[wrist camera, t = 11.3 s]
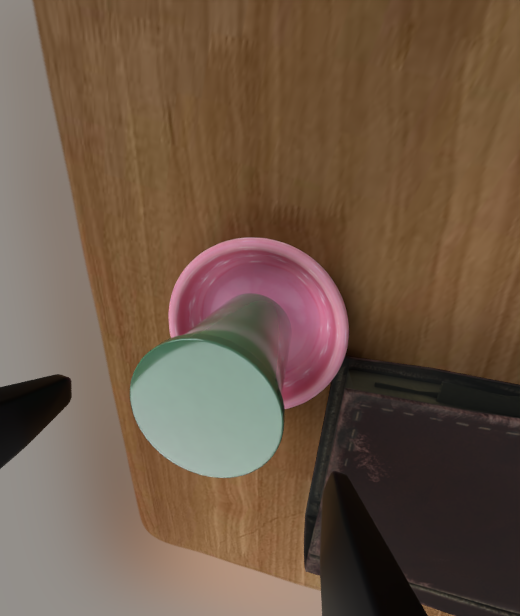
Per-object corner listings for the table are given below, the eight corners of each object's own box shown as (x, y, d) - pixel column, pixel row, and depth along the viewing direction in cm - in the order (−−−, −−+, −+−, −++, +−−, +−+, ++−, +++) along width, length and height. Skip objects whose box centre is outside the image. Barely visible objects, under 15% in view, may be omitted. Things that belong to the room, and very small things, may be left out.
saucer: (244, 409, 22) (234, 437, 19) (158, 297, 20) (133, 307, 17) (375, 345, 18) (388, 366, 15) (281, 200, 16) (275, 191, 13)
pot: (283, 380, 16) (261, 499, 9) (205, 355, 17) (124, 447, 10) (306, 303, 15) (305, 370, 7) (219, 279, 15) (134, 317, 8)
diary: (609, 596, 20) (704, 708, 15) (304, 514, 24) (303, 583, 19) (767, 407, 14) (992, 490, 10) (337, 342, 18) (348, 378, 14)
